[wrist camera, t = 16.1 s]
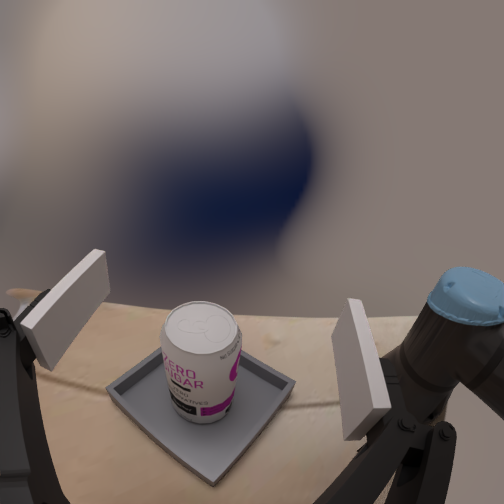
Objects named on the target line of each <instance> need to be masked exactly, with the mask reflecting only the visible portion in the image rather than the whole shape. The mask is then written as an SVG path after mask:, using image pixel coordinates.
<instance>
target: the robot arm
mask: <svg viewBox="0 0 504 504" xmlns="http://www.w3.org/2000/svg"><path fill="white" fill-rule="evenodd" d="M109 293H110V285H109V278H108V271H107V264H106V254H105V251H101V250H97V249H94V250H93V251H92V252H91V253H89V254H88V255H87V256H86V257H85V258H84V259H83V260H82V261H81V262H80V263H79V264H77V265H76V266H75V267H74V268H73V269H72V270H71V271H70V272H69V273H68V274H67V275H66V276H65V277H64V278H63V279H62V280H61V281H60V282H59V283H58V284H57V285H56V286H55V287H54V288H53V289H52V290H50V289H47V290H46V291H44V292H42V293H40V294H39V295H38V296H37V297H36V298H35V299H34V301H33V302H32V303H31V304H30V306H28V307H27V308H26V309H25V310H24V311H23V312H22V313H21V314H20V315H19V316H18V317H17V319H16V320H15V321H14V322H13V319H12V317H11V315H10V312H9V311H8V310H7V309H4V308H0V504H70V502H69V501H68V499H67V498H66V497H65V496H64V494H63V492H62V490H61V487H60V484H59V481H58V478H57V475H56V472H55V469H54V465H53V462H52V458H51V455H50V451H49V447H48V443H47V439H46V435H45V430H44V425H43V420H42V415H41V410H40V404H39V397H38V390H37V382H36V373H35V366H34V363H33V361H34V360H35V359H36V358H37V360H38V362H39V364H40V366H42V367H44V368H46V369H48V370H50V371H51V372H52V370H53V369H54V367H55V366H56V364H57V363H58V362H59V360H60V359H61V357H62V356H63V354H64V353H65V351H66V350H67V349H68V347H69V346H70V344H71V343H72V342H73V340H74V339H75V337H76V336H77V335H78V333H79V332H80V331H81V329H82V328H83V327H84V325H85V324H86V323H87V321H88V320H89V319H90V317H91V316H92V315H93V313H94V312H95V311H96V309H97V308H98V307H99V306H100V304H101V303H102V302H103V300H104V299H105V298H106V297H107V295H108V294H109ZM331 338H332V344H333V351H334V358H335V365H336V373H337V381H338V389H339V397H340V406H341V416H342V426H343V437H344V441H352V440H361V439H362V438H363V437H364V436H365V435H366V437H367V442H366V443H365V444H364V445H363V446H362V447H361V448H360V449H359V450H357V452H358V453H357V454H356V456H355V457H354V458H353V459H352V461H351V462H350V463H349V464H348V466H347V467H346V468H345V469H344V470H343V472H342V473H341V474H340V475H339V476H338V477H337V478H336V480H335V481H334V482H333V483H332V484H331V485H330V486H329V487H328V488H327V489H326V490H325V492H324V493H323V494H322V495H321V496H320V497H319V498H318V499H317V500H316V501H315V502H314V503H313V504H373V503H374V502H375V500H376V499H377V498H378V496H379V495H380V493H381V492H382V491H383V489H384V488H385V486H386V485H387V483H388V482H389V480H390V479H391V477H392V476H393V474H394V472H395V471H396V469H397V471H396V474H395V476H394V479H393V482H392V485H391V488H390V490H389V493H388V496H387V498H386V501H385V503H384V504H444V503H445V499H446V495H447V491H448V486H449V482H450V476H451V472H452V466H453V460H454V453H455V446H456V438H457V436H456V431H455V428H454V427H453V426H452V425H451V424H450V423H448V422H445V421H441V422H438V423H437V424H436V425H435V426H434V427H432V426H428V425H430V424H431V423H432V422H433V421H434V420H435V419H436V418H438V416H439V415H440V414H441V413H442V411H443V409H444V407H445V405H446V403H447V401H448V399H449V397H450V395H451V393H452V391H453V389H454V388H455V386H456V385H457V384H458V383H459V382H461V383H462V384H464V385H465V386H466V387H467V388H468V389H469V390H471V391H472V392H473V393H474V394H476V395H477V396H478V397H479V398H480V399H481V400H482V401H483V402H484V403H486V404H487V405H488V406H489V407H490V408H491V409H492V410H493V411H494V412H495V413H497V414H498V415H499V416H500V417H501V418H502V419H503V420H504V283H503V282H501V281H500V280H498V279H497V278H495V277H494V276H492V275H490V274H488V273H486V272H483V271H481V270H478V269H474V268H469V267H455V268H451V269H449V270H448V271H446V272H445V273H444V274H443V275H442V276H441V278H440V279H439V281H438V283H437V284H436V286H435V288H434V289H433V291H431V292H430V294H429V296H428V299H427V302H426V304H425V306H424V307H423V309H422V311H421V313H420V314H419V316H418V318H417V320H416V321H415V323H414V325H413V326H412V328H411V329H410V331H409V333H408V334H407V336H406V337H405V339H404V341H403V342H402V343H401V344H400V345H399V346H397V347H396V348H395V349H393V350H392V351H390V352H389V353H387V354H386V355H385V356H383V357H382V358H379V357H378V353H377V350H376V346H375V343H374V340H373V336H372V333H371V330H370V327H369V323H368V320H367V317H366V314H365V311H364V308H363V305H362V302H361V300H357V299H350V298H347V301H346V303H345V306H344V308H343V310H342V313H341V315H340V318H339V320H338V322H337V324H336V327H335V329H334V331H333V333H332V336H331Z"/></svg>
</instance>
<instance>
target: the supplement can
mask: <svg viewBox="0 0 504 504" xmlns="http://www.w3.org/2000/svg"><path fill="white" fill-rule="evenodd" d="M160 342H161V348H162V355H163V360H164V366H165V371H166V377H167V382H168V387H169V392H170V397H171V401H172V405H173V407H174V409H175V410H176V411H177V413H178V414H179V415H180V416H182V417H183V418H185V419H186V420H188V421H191V422H195V423H199V424H201V423H212V422H215V421H217V420H220V419H221V418H223V417H224V416H225V415H226V414H227V413H228V412H229V410H230V408H231V406H232V403H233V397H234V391H235V385H236V379H237V372H238V366H239V360H240V354H241V347H242V333H241V331H240V329H239V327H238V325H237V323H236V321H235V318H234V316H233V315H232V314H231V313H230V312H229V311H228V310H227V309H225V308H224V307H222V306H220V305H217V304H215V303H210V302H206V301H193V302H189V303H185V304H182V305H180V306H178V307H177V308H175V309H173V310H172V311H171V313H170V314H169V315H168V316H167V318H166V321H165V323H164V324H163V326H162V329H161V333H160Z"/></svg>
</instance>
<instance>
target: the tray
mask: <svg viewBox="0 0 504 504" xmlns="http://www.w3.org/2000/svg"><path fill="white" fill-rule="evenodd" d="M295 383H296V381H294V380H293V379H291V378H289V377H287V376H285V375H283V374H282V373H280V372H278V371H276V370H275V369H273V368H271V367H269V366H268V365H266V364H264V363H263V362H261V361H259V360H257V359H256V358H254V357H252V356H251V355H249V354H247V353H246V352H244V351H242V350H241V354H240V360H239V366H238V372H237V379H236V385H235V391H234V397H233V403H232V406H231V408H230V410H229V412H228V413H227V414H226V415H225V416H224V417H223V418H221V419H220V420H217V421H215V422H212V423H201V424H199V423H195V422H191V421H188V420H186V419H185V418H183V417H182V416H180V415H179V414H178V413H177V411H176V410H175V409H174V407H173V405H172V401H171V397H170V392H169V387H168V382H167V377H166V371H165V366H164V360H163V355H162V348H161V347H160V348H158V349H157V350H156V351H154V352H153V353H152V354H150V355H149V356H148V357H146V358H145V359H144V360H142V361H141V362H140V363H138V364H137V365H136V366H134V367H133V368H132V369H130V370H129V371H127V372H126V373H125V374H123V375H122V376H121V377H119V378H118V379H117V380H115V381H114V382H112V383H111V384H110V385H108V386H107V387H106V390H107V392H108V394H109V396H110V398H111V399H112V401H113V402H114V403H115V404H116V405H117V406H118V407H119V408H120V409H121V410H122V411H123V412H124V413H125V414H126V415H127V416H128V417H129V418H130V419H131V420H132V421H133V422H134V423H135V424H136V425H137V426H138V427H139V428H140V429H141V430H142V431H143V432H144V433H145V434H146V435H148V436H149V437H150V438H151V439H152V440H153V441H154V442H155V443H156V444H158V445H159V446H160V447H161V448H162V449H163V450H165V451H166V452H167V453H168V454H169V455H171V456H172V457H173V458H174V459H176V460H177V461H178V462H179V463H181V464H182V465H183V466H184V467H186V468H187V469H188V470H190V471H191V472H192V473H194V474H195V475H197V476H198V477H199V478H201V479H202V480H203V481H205V482H206V483H208V484H209V485H211V486H212V487H214V486H215V485H216V484H217V483H218V482H219V481H220V479H221V478H222V477H223V476H224V475H225V474H226V473H227V472H228V471H229V470H230V469H231V467H232V466H233V465H234V464H235V463H236V462H237V461H238V460H239V458H240V457H241V456H242V455H243V454H244V453H245V451H246V450H247V449H248V448H249V447H250V445H251V444H252V443H253V442H254V441H255V439H256V438H257V437H258V436H259V435H260V433H261V432H262V431H263V430H264V428H265V427H266V426H267V424H268V423H269V422H270V421H271V419H272V418H273V417H274V415H275V414H276V413H277V412H278V410H279V409H280V408H281V406H282V405H283V403H284V402H285V401H286V399H287V398H288V397H289V395H290V394H291V392H292V390H293V388H294V385H295Z"/></svg>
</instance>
